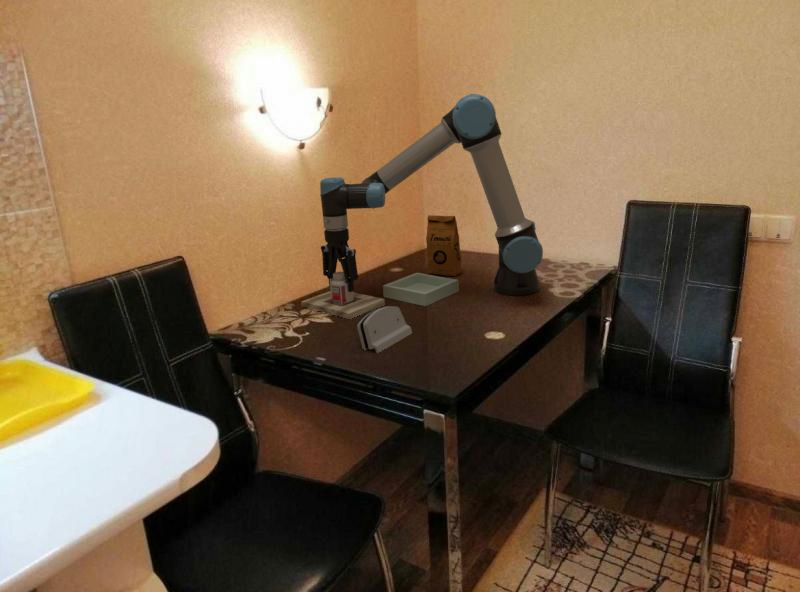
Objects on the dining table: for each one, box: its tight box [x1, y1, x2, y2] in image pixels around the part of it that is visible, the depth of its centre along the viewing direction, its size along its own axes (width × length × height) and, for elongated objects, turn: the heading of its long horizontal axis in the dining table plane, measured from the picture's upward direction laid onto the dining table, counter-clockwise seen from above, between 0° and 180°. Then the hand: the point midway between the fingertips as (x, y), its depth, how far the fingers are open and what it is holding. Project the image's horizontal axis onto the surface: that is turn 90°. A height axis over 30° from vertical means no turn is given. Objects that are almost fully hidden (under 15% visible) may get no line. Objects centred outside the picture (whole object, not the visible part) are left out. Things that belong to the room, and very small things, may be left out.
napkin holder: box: [356, 306, 413, 354], centre depth 160 cm, size 17×5×10 cm, turn 145°
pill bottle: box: [331, 271, 353, 307], centre depth 189 cm, size 6×6×11 cm
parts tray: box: [382, 272, 460, 307], centre depth 198 cm, size 18×18×4 cm
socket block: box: [301, 290, 386, 320], centre depth 190 cm, size 22×16×2 cm
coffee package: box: [425, 214, 462, 277], centre depth 217 cm, size 10×12×22 cm
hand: (342, 299), depth 190 cm, fingers closed on pill bottle, 6 cm apart
